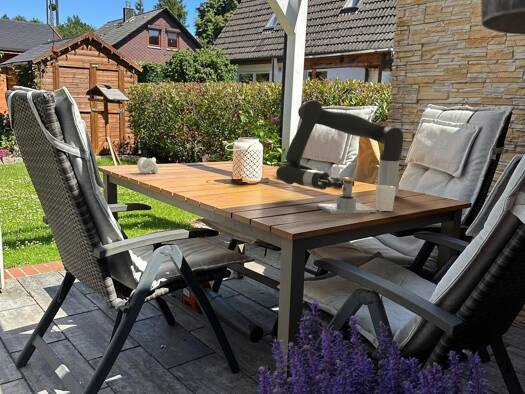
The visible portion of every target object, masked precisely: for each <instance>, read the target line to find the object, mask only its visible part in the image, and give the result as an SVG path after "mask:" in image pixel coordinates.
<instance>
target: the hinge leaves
mask: <svg viewBox="0 0 525 394" xmlns="http://www.w3.org/2000/svg"><path fill="white" fill-rule="evenodd" d="M316 208H317V209H318V208H319V209H320V210H322V211H323V212H325V213H327V214H330V215H346V214H347V215H348V214H349V215H350V214H352V213H354V214H371V213H370V212H376V213H377V210H376V208H373V207H370V206H368V205H365V204H363V203H360V202H357V197H355V196H352V195H351V199H345V198H342V195H339V196H337V197H336V203H316Z"/></svg>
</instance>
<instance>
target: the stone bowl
mask: <svg viewBox="0 0 525 394" xmlns="http://www.w3.org/2000/svg"><path fill="white" fill-rule="evenodd" d="M276 165H277V166H279V167H280V166H283V165H287V166H288V162H287V160H285V161H283V162H278V161H276ZM300 169H303V170H314V171H319V170H318V168H316V167H313V166H311V165H306V164H300Z"/></svg>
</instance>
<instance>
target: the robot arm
mask: <svg viewBox="0 0 525 394" xmlns="http://www.w3.org/2000/svg"><path fill="white" fill-rule="evenodd" d="M297 111H298V112H297V113H298V117H299V119H301V121H300V125H299V126H298V129H297V131H296V133H295V135H294V137H293V138H292V140H291V142H290V144H289V147H288V149H287V151H286V154H285V161H287V162H288V166H287V165H283V166H279V167H278V168H277V169H276V171H275V174H276V175H275V176H276V178H277V179H278V180H280V181H282V182H283V183H285V184H286V185H293V184H297V185H299V186H303V187H304V186H305V187H308V188H312V189H317V190H326V189H327V188H328V189H329V188H332V189H333V188H337V189H343V185H344V181H343V177H340V178H338V177H336V178H335V177H331V176H330V175H329V173H328V172H326V171H320V170H316V171H314V170H303V169H300V165H301V160H302V158H303V155H304V152H305V149H306V147H307V145H308V142H309V139H310V136H311V135H312V132H313V130H314V128H315V127H316V125H319V126H325V127H327V128H329V129H332V130H335V131H338V132H341V133H345V134H347V135H351V136H355V137H360V138H365V139H370V140H373V141H375V142H378V143H380V144H382V145H383V150H382V153H380V155H379V164H378V174H377V175H378V176H377V186H378V185H387V186H394V187H396V190H395V197H398V196H399V187H400V178H401V177H400V176H399V169H400V167H399V166H400V159H401V155H402V154H403V153H402V152H403V147H404V146H403V145H404V132H403V131H402V130H401V129H400V128H399V127H397V126H387V125H380V124H376V123H373V122H371V121H369V120H367V119H365V118H364V117H362V116H359V115H356V114H352V113H349V112H342V111H333V110H327V109H323V106H322V104H321V103H320V102H319V101H318V100H316V99H311V100H307V101H305V102H304V103H302V104H301V105H300V106H299V108H298V110H297ZM354 186H355V180H354V181H353V184H352V187H354Z"/></svg>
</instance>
